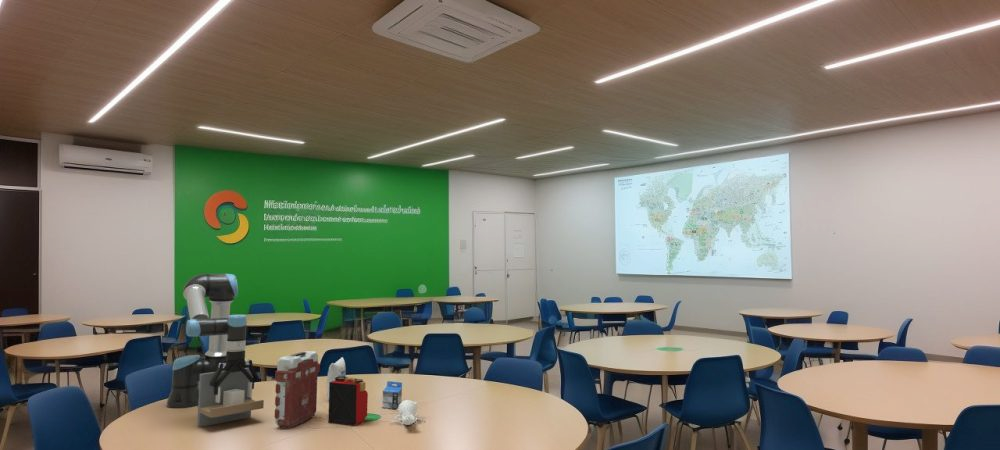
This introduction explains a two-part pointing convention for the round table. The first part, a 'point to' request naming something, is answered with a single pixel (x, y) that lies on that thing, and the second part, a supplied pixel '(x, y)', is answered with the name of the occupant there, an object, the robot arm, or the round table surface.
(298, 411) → the first aid kit
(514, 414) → the round table surface
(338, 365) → the pouch
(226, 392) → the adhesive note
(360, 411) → the radio
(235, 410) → the board
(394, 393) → the label tape cartridge
